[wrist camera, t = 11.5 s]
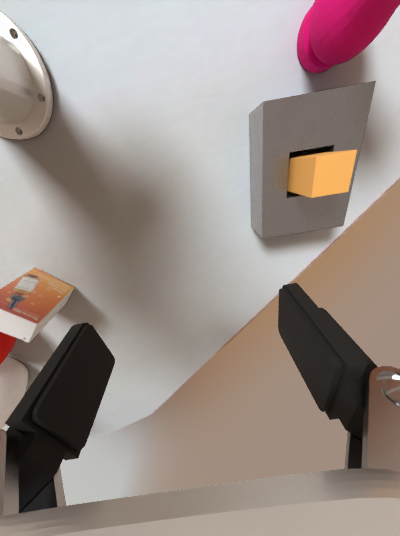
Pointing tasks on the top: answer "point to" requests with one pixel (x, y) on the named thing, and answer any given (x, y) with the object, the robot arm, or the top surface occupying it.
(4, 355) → the ceramic cup
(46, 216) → the top surface
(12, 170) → the top surface
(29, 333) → the small box
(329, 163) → the wedge peg
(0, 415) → the pitcher
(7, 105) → the robot arm
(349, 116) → the socket block
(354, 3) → the pepper mill
